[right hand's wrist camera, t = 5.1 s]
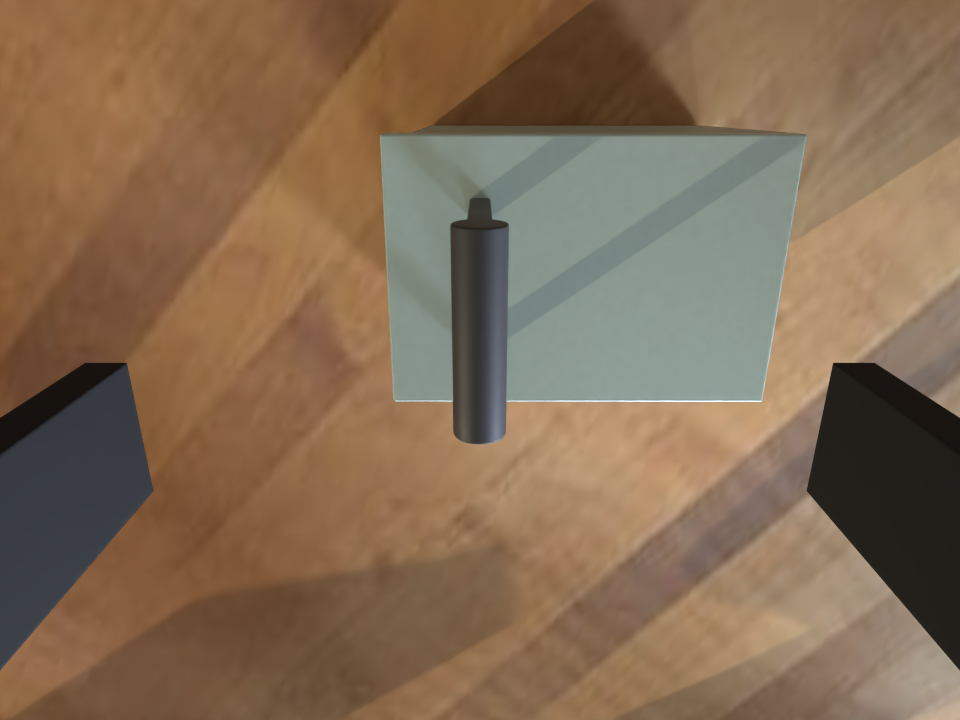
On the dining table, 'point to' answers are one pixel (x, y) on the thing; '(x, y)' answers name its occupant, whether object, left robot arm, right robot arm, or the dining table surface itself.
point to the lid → (583, 266)
